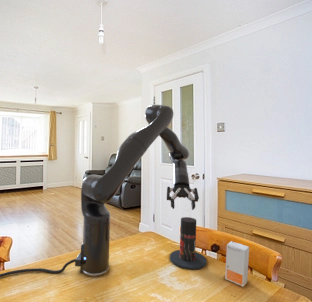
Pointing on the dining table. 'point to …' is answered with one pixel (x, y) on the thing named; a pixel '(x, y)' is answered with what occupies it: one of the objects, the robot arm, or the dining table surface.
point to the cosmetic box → (237, 263)
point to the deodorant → (187, 239)
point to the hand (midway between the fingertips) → (183, 208)
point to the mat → (191, 265)
